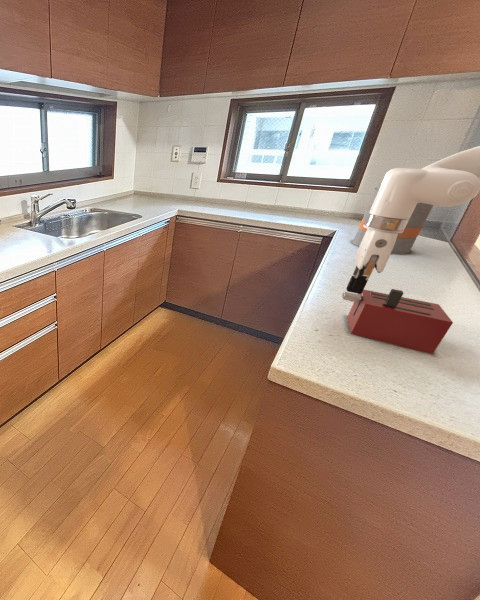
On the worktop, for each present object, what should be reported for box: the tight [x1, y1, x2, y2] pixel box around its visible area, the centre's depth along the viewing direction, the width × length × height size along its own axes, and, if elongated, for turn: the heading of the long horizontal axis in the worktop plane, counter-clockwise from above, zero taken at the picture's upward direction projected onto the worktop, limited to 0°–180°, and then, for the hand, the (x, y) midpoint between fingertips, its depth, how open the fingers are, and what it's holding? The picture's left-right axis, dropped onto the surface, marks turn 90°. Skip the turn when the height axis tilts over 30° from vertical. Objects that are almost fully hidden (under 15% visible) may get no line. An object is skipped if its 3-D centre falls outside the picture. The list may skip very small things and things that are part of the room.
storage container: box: [352, 180, 434, 255], centre depth 150 cm, size 22×22×35 cm
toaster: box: [347, 289, 454, 355], centre depth 84 cm, size 16×11×9 cm
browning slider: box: [385, 288, 404, 308], centre depth 80 cm, size 2×2×4 cm
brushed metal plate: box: [341, 291, 361, 303], centre depth 87 cm, size 4×3×1 cm
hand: (353, 291), depth 86 cm, fingers closed
